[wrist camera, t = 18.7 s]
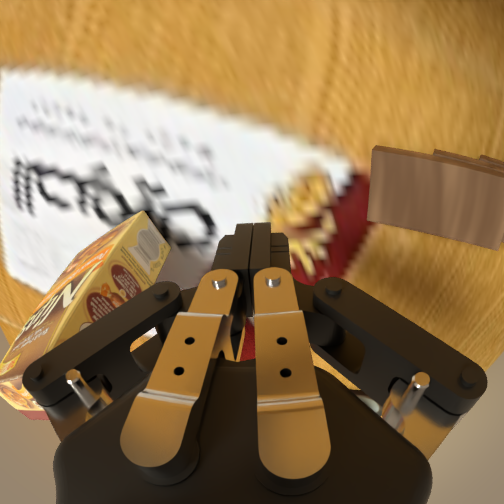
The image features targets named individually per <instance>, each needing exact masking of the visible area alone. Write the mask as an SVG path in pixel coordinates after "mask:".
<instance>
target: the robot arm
mask: <svg viewBox="0 0 504 504" xmlns="http://www.w3.org/2000/svg"><path fill="white" fill-rule="evenodd" d="M253 309H254V324H255V350H256V358H255V359H251V360H246V361H240V356H241V351H242V346H243V341H244V336H245V323H246V317H253ZM154 327H155V329H156V331H157V334H156V335H155V336H153V337H152V338H151V339H149V340H148V341H146V342H145V343H143V344H142V345H141V346H139V347H138V348H136V349H135V350H134V351H132V352H130V346H131V344H132V343H133V342H134V341H135V340H136V339H138V338H139V337H140V336H142V335H143V334H145V333H146V332H148V331H149V330H151V329H152V328H154ZM309 343H310V345H309ZM310 346H311V348H312V350H313V351H314V352H315V353H316V354H318V355H319V356H320V357H321V358H322V359H324V360H325V361H326V362H327V363H328V364H330V365H331V366H332V367H333V368H335V369H336V370H337V371H338V372H339V373H341V374H342V375H343V376H344V377H346V378H347V379H348V380H349V381H350V382H352V383H353V384H354V385H355V386H357V387H358V388H359V389H360V390H362V391H363V392H364V393H365V394H367V395H368V396H369V397H370V398H372V399H373V400H374V401H375V402H377V403H378V404H379V405H381V406H382V417H380V416H379V415H378V414H377V413H376V412H375V411H373V410H372V409H371V408H370V407H369V406H368V405H366V404H365V403H364V402H363V401H362V400H361V399H360V398H358V397H357V396H356V395H355V394H354V393H353V392H352V391H351V390H349V389H348V388H347V387H346V386H345V385H344V384H343V383H342V382H340V381H339V380H338V379H337V378H336V377H335V376H333V375H332V374H330V373H329V372H327V371H325V370H323V369H321V368H319V367H316V366H314V365H313V360H312V355H311V350H310ZM239 361H240V362H239ZM22 384H23V386H24V388H25V389H26V390H27V391H28V392H29V393H30V394H31V395H32V397H33V398H34V399H35V400H36V402H37V403H38V404H39V405H40V406H41V407H42V408H43V409H44V410H45V412H46V414H47V416H48V418H49V420H50V422H51V424H52V426H53V428H54V430H55V432H56V434H57V435H58V437H59V439H60V441H61V443H60V445H59V446H58V448H57V450H56V453H55V456H54V461H53V471H54V478H55V483H56V504H426V503H427V501H428V499H429V496H430V493H431V489H432V471H431V467H430V464H429V462H428V460H429V458H430V457H431V456H432V455H433V454H434V452H435V451H436V450H437V448H438V447H439V446H440V444H441V443H442V442H443V440H444V439H445V438H446V436H447V435H448V434H449V432H450V431H451V430H452V429H453V428H454V427H455V426H456V425H457V424H458V422H460V420H461V419H462V418H463V417H464V416H465V415H466V414H467V413H468V411H469V410H470V409H471V408H472V407H473V406H474V404H475V403H476V402H477V401H478V400H479V398H480V397H481V396H482V395H483V393H484V392H485V390H486V388H487V377H486V374H485V372H484V370H483V369H482V368H481V367H480V366H479V365H478V364H476V363H475V362H473V361H472V360H470V359H469V358H467V357H466V356H464V355H463V354H461V353H460V352H458V351H457V350H455V349H453V348H452V347H450V346H449V345H447V344H446V343H444V342H443V341H441V340H440V339H438V338H436V337H435V336H433V335H432V334H430V333H429V332H427V331H426V330H424V329H422V328H421V327H419V326H418V325H416V324H415V323H413V322H411V321H410V320H408V319H407V318H405V317H404V316H402V315H400V314H399V313H397V312H396V311H394V310H392V309H391V308H389V307H388V306H386V305H384V304H383V303H381V302H380V301H378V300H376V299H375V298H373V297H372V296H370V295H368V294H367V293H365V292H364V291H362V290H360V289H359V288H357V287H355V286H354V285H352V284H351V283H349V282H347V281H345V280H343V279H341V278H335V277H329V278H324V279H321V280H319V281H318V282H317V283H316V284H315V285H314V286H309V285H305V284H302V283H300V282H298V281H296V280H295V279H294V278H293V277H292V275H291V267H290V255H289V244H288V238H287V237H286V236H285V235H284V234H283V233H271V223H270V222H265V223H254V225H253V223H244V224H237V225H236V230H235V234H234V235H225V236H224V237H223V238H222V239H221V240H220V241H219V244H218V248H217V251H216V255H215V258H214V262H213V266H212V269H211V271H210V272H208V273H207V274H205V275H204V276H203V277H202V279H201V281H200V283H199V286H197V287H195V288H191V289H187V290H182V291H180V288H179V286H178V285H177V284H175V283H173V282H159V283H156V284H154V285H152V286H150V287H149V288H147V289H146V290H144V291H142V292H141V293H139V294H138V295H136V296H134V297H133V298H131V299H130V300H128V301H126V302H125V303H123V304H122V305H120V306H119V307H117V308H115V309H114V310H112V311H111V312H109V313H108V314H106V315H104V316H103V317H101V318H100V319H98V320H97V321H95V322H94V323H92V324H90V325H89V326H87V327H86V328H84V329H83V330H81V331H80V332H78V333H77V334H75V335H73V336H72V337H70V338H69V339H67V340H66V341H64V342H63V343H61V344H60V345H58V346H57V347H55V348H54V349H52V350H51V351H49V352H48V353H46V354H45V355H43V356H42V357H40V358H39V359H37V360H36V361H34V362H33V363H31V364H30V365H29V366H28V367H27V368H26V370H25V371H24V373H23V376H22Z"/></svg>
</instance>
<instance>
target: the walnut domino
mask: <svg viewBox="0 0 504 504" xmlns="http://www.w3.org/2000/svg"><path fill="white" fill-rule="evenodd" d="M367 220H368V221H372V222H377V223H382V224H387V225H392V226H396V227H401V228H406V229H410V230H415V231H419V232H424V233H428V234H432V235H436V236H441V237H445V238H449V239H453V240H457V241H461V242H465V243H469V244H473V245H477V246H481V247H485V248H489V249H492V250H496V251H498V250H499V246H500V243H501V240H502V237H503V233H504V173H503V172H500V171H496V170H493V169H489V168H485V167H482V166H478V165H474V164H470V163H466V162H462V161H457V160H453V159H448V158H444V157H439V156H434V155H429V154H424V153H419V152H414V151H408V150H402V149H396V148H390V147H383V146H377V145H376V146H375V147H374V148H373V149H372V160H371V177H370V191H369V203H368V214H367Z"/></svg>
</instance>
